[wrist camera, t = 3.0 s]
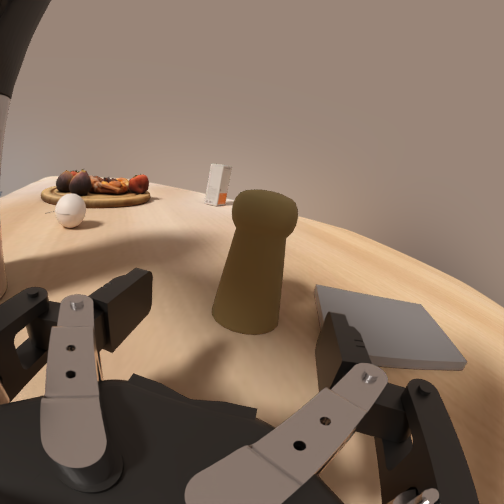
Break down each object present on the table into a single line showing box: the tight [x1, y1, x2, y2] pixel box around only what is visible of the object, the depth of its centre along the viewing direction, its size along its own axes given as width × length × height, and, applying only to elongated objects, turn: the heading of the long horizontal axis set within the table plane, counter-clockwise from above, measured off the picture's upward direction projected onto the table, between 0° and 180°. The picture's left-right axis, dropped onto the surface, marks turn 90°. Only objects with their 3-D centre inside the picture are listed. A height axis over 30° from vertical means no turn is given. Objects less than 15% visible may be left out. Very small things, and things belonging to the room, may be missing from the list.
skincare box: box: [204, 164, 232, 206], centre depth 79 cm, size 6×4×12 cm
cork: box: [212, 190, 298, 335], centre depth 23 cm, size 6×6×11 cm
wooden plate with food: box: [41, 169, 150, 208], centre depth 64 cm, size 32×32×8 cm
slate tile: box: [314, 285, 467, 370], centre depth 25 cm, size 15×13×1 cm
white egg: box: [45, 193, 86, 228], centre depth 36 cm, size 8×6×6 cm
